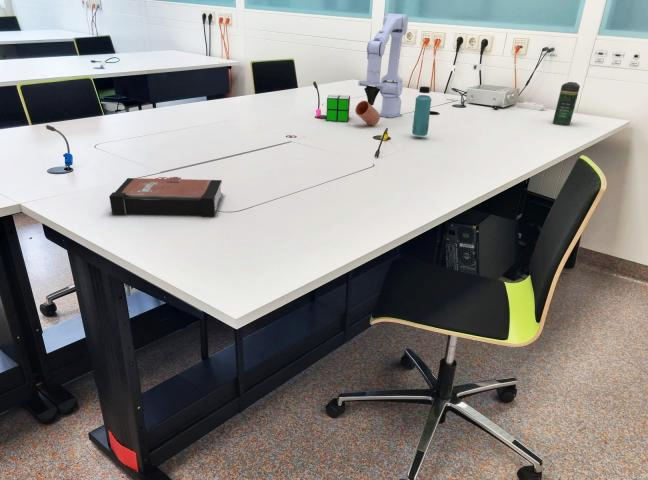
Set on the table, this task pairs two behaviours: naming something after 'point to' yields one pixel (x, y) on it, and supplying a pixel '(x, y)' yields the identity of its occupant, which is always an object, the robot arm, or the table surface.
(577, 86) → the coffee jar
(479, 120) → the table surface
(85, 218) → the table surface
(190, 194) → the book
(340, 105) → the puzzle cube
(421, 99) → the beverage bottle
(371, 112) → the cup
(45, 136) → the table surface
